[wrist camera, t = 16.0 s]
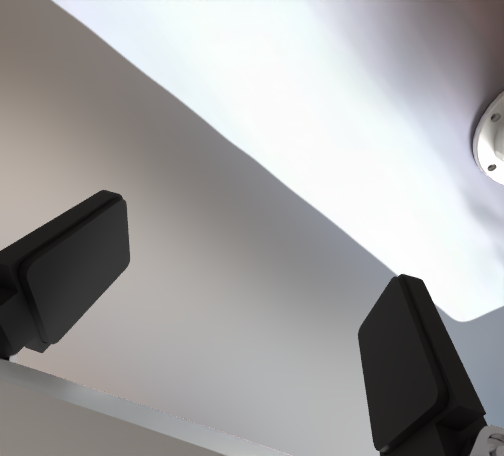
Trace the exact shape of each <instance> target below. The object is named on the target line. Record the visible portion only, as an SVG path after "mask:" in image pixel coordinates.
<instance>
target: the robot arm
mask: <svg viewBox="0 0 504 456" xmlns="http://www.w3.org/2000/svg"><path fill="white" fill-rule="evenodd" d="M493 114H494V116H493V117H492V118H491V116H492V115H493ZM473 154H474V159H475V161H476V163H477V165H478V167H479V169H480V170H481V171H482V172H483V173H484V174H485V175H486V176H488V177H489V178H491V179H492V180H493V181H496V182H498V183H500V184H502V185H504V91H503V92H502V93H500V94H499V96H498V97H497V98H496V99H495V100H494V101H493V102H492V103H491V104H490V105H489V107H488V108H487V110H486V111H485V113H484V114H483V116H482V117H481V119H480V122H479V124H478V126H477V128H476V131H475V135H474V139H473ZM489 165H490V166H489ZM488 166H489V167H488ZM129 262H130V251H129V235H128V221H127V205H126V201H125V200H123V198H122V196H121V195H120V194H117V193H113V192H110V191H106V190H102V191H99V192H98V193H96V194H94V195H93V196H91V197H89V198H88V199H86V200H84V201H83V202H81V203H79V204H78V205H76V206H75V207H73V208H71V209H69V210H68V211H66V212H64V213H63V214H61V215H60V216H58V217H56V218H54V219H53V220H51V221H49V222H48V223H46V224H44V225H43V226H41V227H39V228H38V229H36V230H35V231H33V232H31V233H29V234H28V235H26V236H24V237H23V238H21V239H19V240H18V241H17V242H14V243H13V244H11V245H10V246H8V247H6V248H5V249H3V250H1V251H0V456H292V455H290V454H287V453H284V452H281V451H278V450H275V449H272V448H269V447H266V446H264V445H261V444H258V443H255V442H252V441H249V440H246V439H243V438H240V437H237V436H234V435H231V434H228V433H225V432H222V431H219V430H216V429H213V428H210V427H207V426H204V425H201V424H198V423H195V422H192V421H189V420H186V419H183V418H180V417H177V416H174V415H171V414H168V413H165V412H162V411H159V410H156V409H153V408H150V407H147V406H144V405H141V404H138V403H135V402H132V401H129V400H126V399H124V398H120V397H117V396H114V395H111V394H108V393H105V392H102V391H99V390H96V389H93V388H90V387H87V386H84V385H81V384H78V383H75V382H72V381H69V380H66V379H63V378H60V377H56V376H54V375H51V374H47V373H44V372H41V371H38V370H35V369H32V368H29V367H26V366H23V365H20V364H16V362H17V354H18V352H19V351H20V350H21V349H22V348H23V347H24V346H25V347H26V348H28V349H31V350H34V351H37V352H40V353H43V352H44V351H45V350H46V349H47V348H48V347H49V346H50V345H51V344H55V343H57V342H58V341H59V340H60V339H61V338H62V337H63V336H64V335H65V334H66V333H67V332H68V331H69V330H70V329H71V328H72V326H73V325H74V324H75V323H76V322H77V321H78V320H79V319H80V318H81V317H82V316H83V314H84V313H85V312H86V311H87V310H88V309H89V308H90V307H91V306H92V305H93V304H94V302H95V301H96V300H97V299H98V298H99V297H100V296H101V295H102V294H103V293H104V292H105V291H106V290H107V288H108V287H109V286H110V285H111V284H112V283H113V282H114V281H115V280H116V279H117V278H118V276H119V275H120V274H121V273H122V272H123V271H124V270H125V269H126V268H127V266H128V264H129ZM358 339H359V347H360V354H361V360H362V368H363V375H364V381H365V388H366V395H367V402H368V409H369V416H370V423H371V430H372V437H373V443H374V446H375V448H376V450H378V451H380V456H504V428H502V427H498V426H494V425H490V426H488V425H487V423H486V421H485V419H484V417H483V416H484V415H485V414H486V412H485V411H484V408H483V406H482V404H481V402H480V400H479V398H478V396H477V393H476V391H475V389H474V387H473V385H472V383H471V381H470V379H469V377H468V375H467V372H466V370H465V368H464V366H463V364H462V362H461V360H460V358H459V356H458V354H457V351H456V349H455V347H454V345H453V343H452V341H451V339H450V337H449V335H448V332H447V331H446V328H445V326H444V324H443V322H442V320H441V318H440V315H439V313H438V311H437V309H436V307H435V305H434V303H433V301H432V299H431V296H430V294H429V292H428V290H427V288H426V286H425V284H424V282H423V280H421V279H419V278H416V277H412V276H408V275H405V274H401V275H399V276H398V277H393V278H392V279H391V281H390V282H389V284H388V285H387V287H386V288H385V290H384V291H383V293H382V294H381V296H380V298H379V299H378V301H377V302H376V304H375V305H374V307H373V308H372V310H371V311H370V313H369V314H368V316H367V317H366V319H365V321H364V322H363V323H362V325H361V327H360V329H359V333H358Z"/></svg>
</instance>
